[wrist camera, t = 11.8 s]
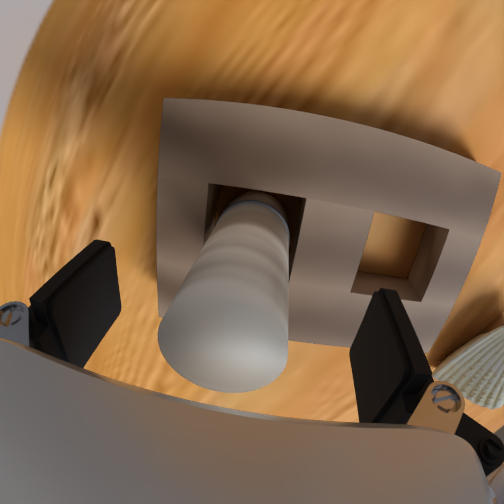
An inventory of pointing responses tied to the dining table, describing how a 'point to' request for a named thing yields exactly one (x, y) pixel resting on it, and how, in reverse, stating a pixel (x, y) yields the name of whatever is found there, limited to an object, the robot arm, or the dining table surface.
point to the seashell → (477, 369)
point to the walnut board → (322, 208)
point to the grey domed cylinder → (234, 301)
